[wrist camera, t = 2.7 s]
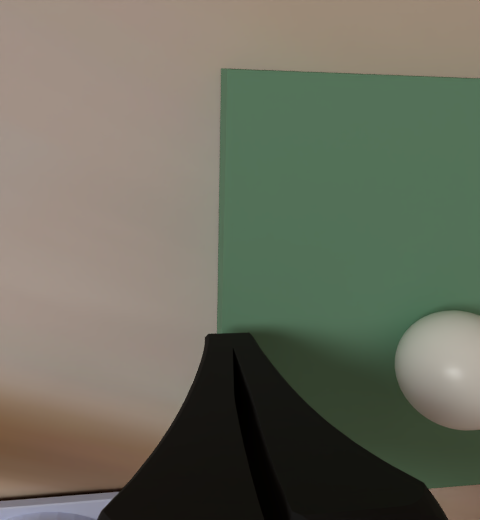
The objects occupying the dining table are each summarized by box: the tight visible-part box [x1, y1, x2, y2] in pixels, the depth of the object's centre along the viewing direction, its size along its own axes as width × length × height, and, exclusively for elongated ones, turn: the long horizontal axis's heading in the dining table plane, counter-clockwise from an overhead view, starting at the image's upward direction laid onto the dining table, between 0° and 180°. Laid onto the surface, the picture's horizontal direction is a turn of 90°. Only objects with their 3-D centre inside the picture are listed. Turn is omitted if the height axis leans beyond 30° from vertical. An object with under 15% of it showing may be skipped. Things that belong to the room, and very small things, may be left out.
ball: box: [395, 310, 480, 431], centre depth 13 cm, size 4×4×4 cm
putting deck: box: [217, 69, 480, 489], centre depth 15 cm, size 19×16×2 cm
